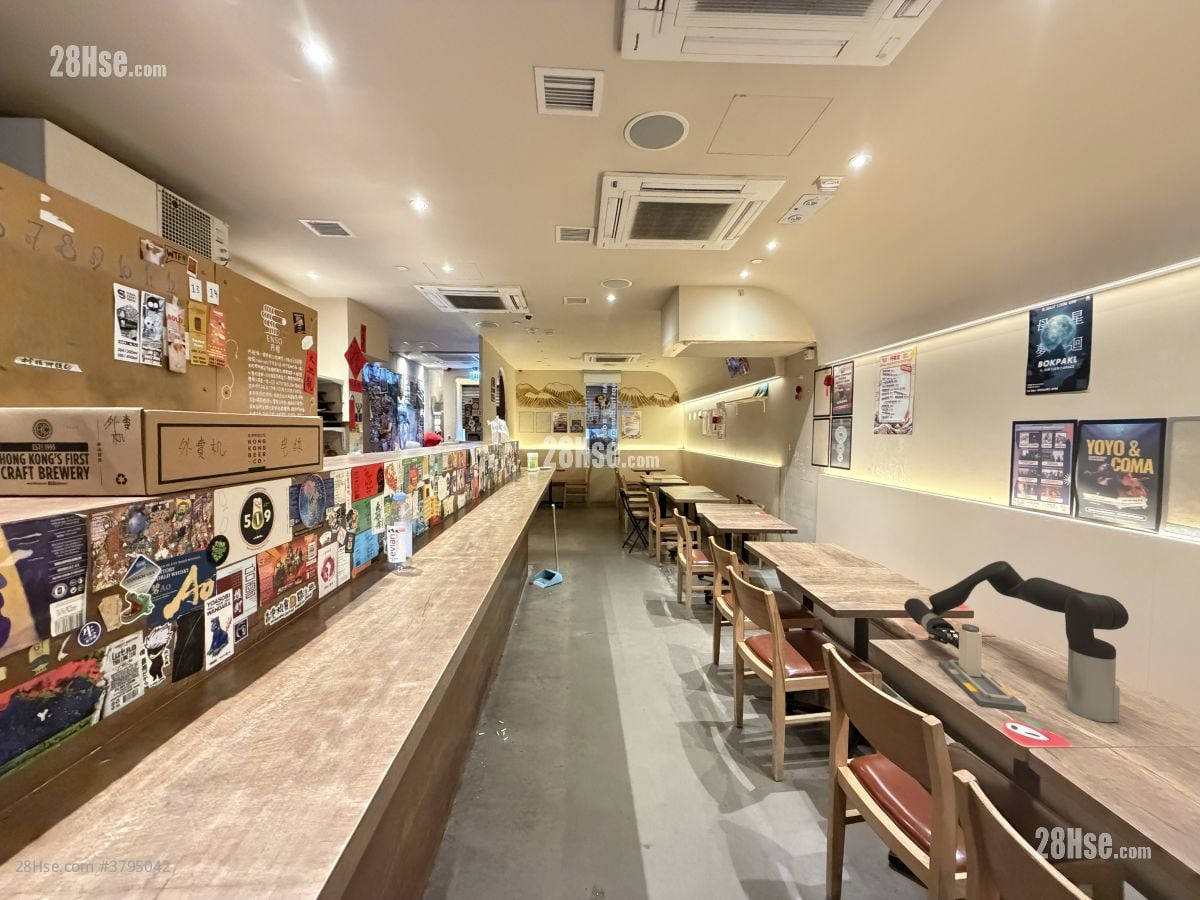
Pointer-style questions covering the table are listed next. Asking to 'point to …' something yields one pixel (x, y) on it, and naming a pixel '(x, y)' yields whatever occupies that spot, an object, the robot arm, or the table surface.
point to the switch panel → (982, 688)
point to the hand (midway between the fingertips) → (961, 646)
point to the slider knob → (970, 650)
